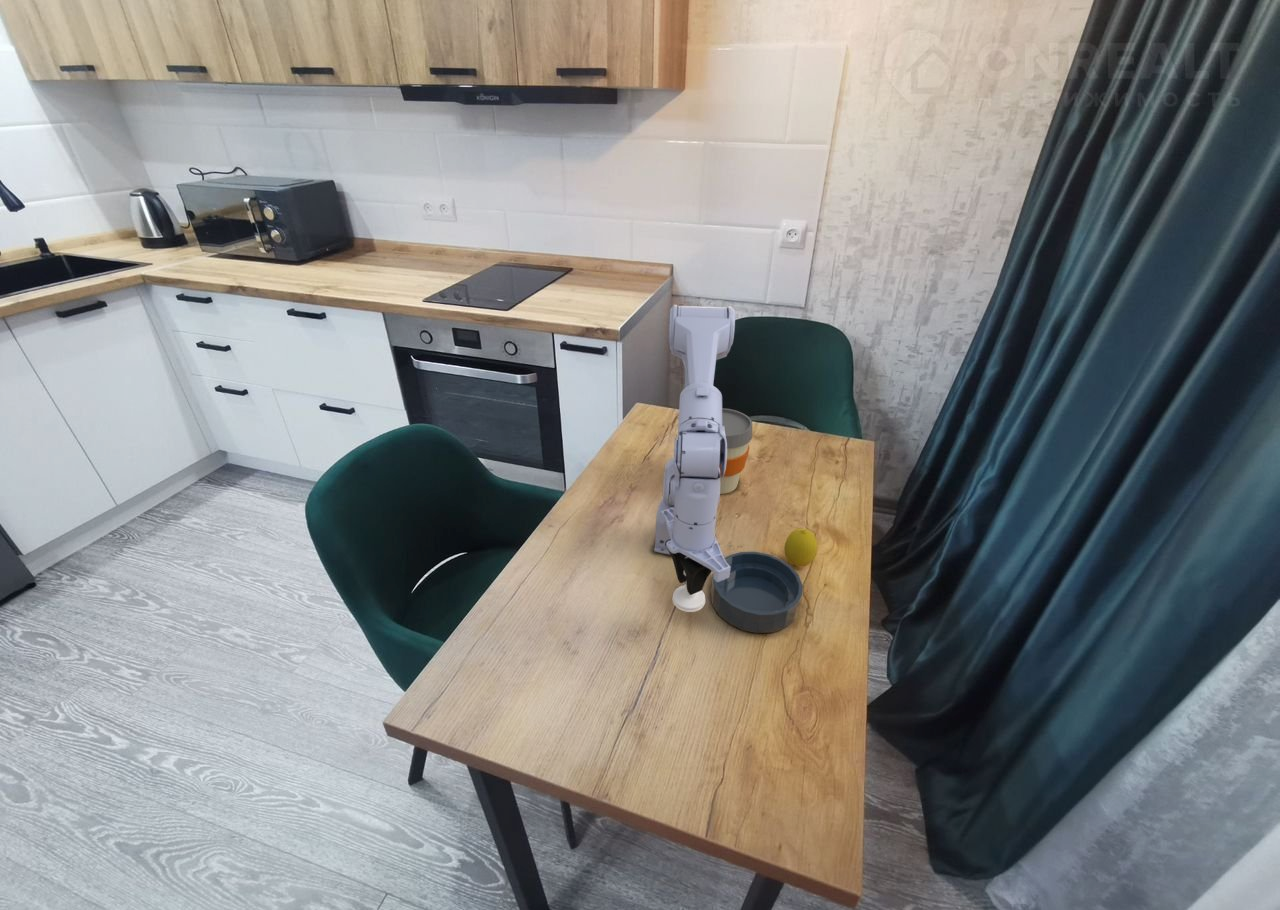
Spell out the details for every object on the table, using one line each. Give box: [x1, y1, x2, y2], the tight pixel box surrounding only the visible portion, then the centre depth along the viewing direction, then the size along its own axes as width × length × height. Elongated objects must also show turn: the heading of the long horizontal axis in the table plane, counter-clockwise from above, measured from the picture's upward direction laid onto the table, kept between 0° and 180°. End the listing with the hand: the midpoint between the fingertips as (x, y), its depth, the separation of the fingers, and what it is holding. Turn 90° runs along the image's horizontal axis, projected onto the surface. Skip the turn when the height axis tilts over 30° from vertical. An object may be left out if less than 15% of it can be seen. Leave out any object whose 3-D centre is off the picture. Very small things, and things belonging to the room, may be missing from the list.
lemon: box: [783, 528, 818, 568], centre depth 99 cm, size 6×6×8 cm
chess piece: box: [671, 556, 706, 613], centre depth 82 cm, size 5×5×10 cm
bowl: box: [710, 551, 804, 634], centre depth 92 cm, size 14×14×5 cm
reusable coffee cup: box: [719, 407, 753, 495], centre depth 119 cm, size 12×13×15 cm
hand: (689, 585), depth 83 cm, fingers closed on chess piece
